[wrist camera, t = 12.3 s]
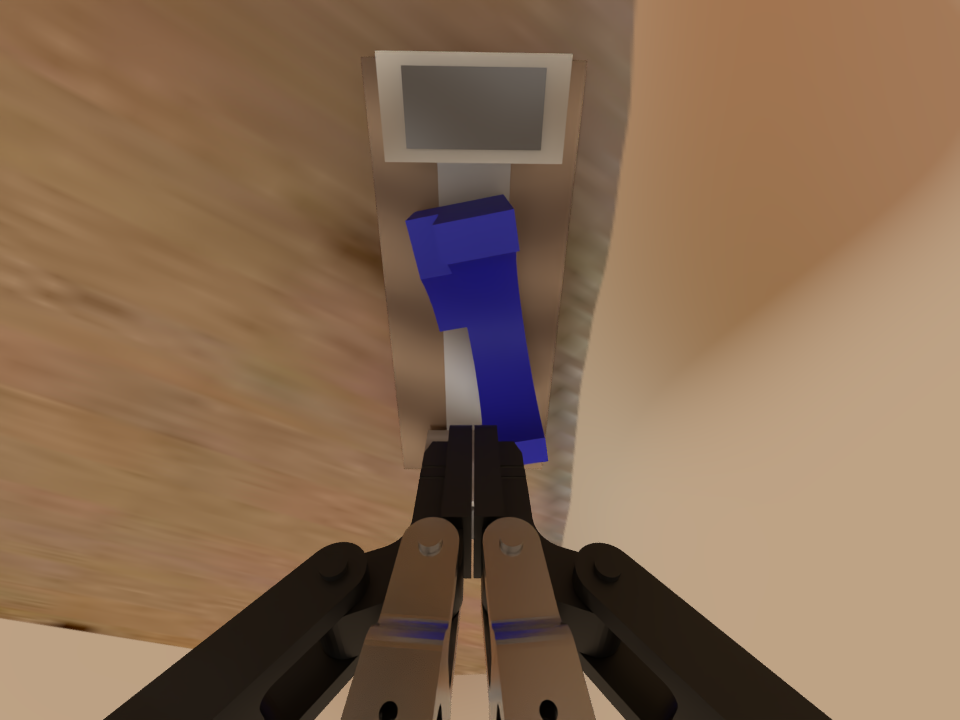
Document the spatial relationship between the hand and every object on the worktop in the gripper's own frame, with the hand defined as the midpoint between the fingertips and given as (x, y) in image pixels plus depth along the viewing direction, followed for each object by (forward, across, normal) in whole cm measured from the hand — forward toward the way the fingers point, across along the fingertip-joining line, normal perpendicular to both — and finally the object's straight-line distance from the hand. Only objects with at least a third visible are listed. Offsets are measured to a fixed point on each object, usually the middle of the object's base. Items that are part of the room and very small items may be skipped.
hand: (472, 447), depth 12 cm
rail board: (+13, 0, 0) cm, 13 cm away
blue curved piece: (+11, 0, 0) cm, 11 cm away
